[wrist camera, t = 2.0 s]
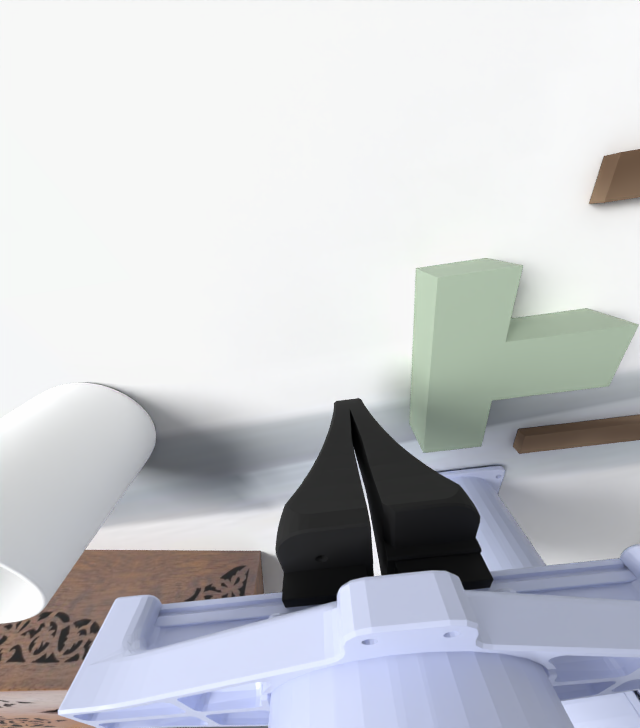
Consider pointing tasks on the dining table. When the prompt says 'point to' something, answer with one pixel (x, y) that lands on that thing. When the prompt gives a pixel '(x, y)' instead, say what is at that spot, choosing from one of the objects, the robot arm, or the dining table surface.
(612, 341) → the t block
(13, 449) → the cup
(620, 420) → the bracket
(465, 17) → the dining table surface
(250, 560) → the tissue box cover
